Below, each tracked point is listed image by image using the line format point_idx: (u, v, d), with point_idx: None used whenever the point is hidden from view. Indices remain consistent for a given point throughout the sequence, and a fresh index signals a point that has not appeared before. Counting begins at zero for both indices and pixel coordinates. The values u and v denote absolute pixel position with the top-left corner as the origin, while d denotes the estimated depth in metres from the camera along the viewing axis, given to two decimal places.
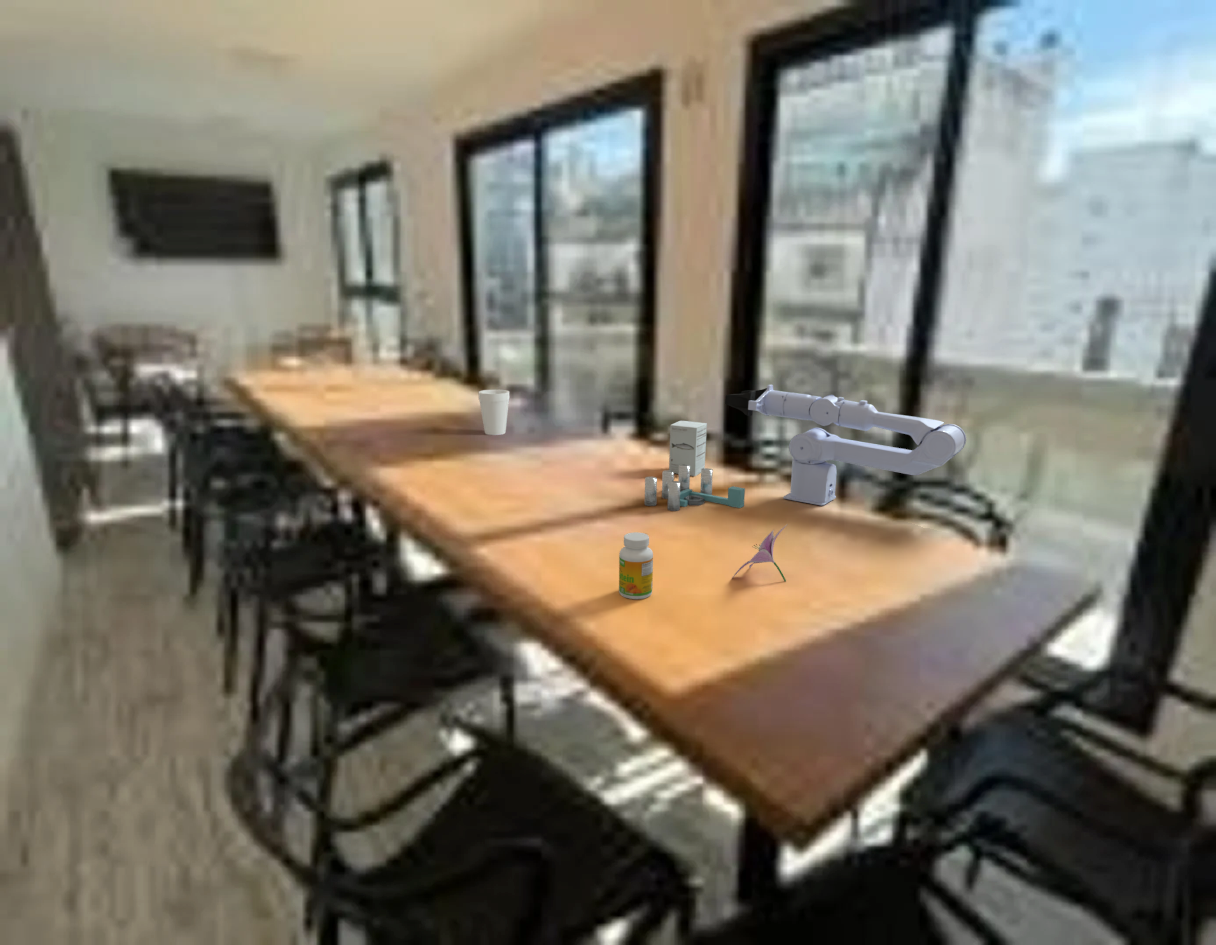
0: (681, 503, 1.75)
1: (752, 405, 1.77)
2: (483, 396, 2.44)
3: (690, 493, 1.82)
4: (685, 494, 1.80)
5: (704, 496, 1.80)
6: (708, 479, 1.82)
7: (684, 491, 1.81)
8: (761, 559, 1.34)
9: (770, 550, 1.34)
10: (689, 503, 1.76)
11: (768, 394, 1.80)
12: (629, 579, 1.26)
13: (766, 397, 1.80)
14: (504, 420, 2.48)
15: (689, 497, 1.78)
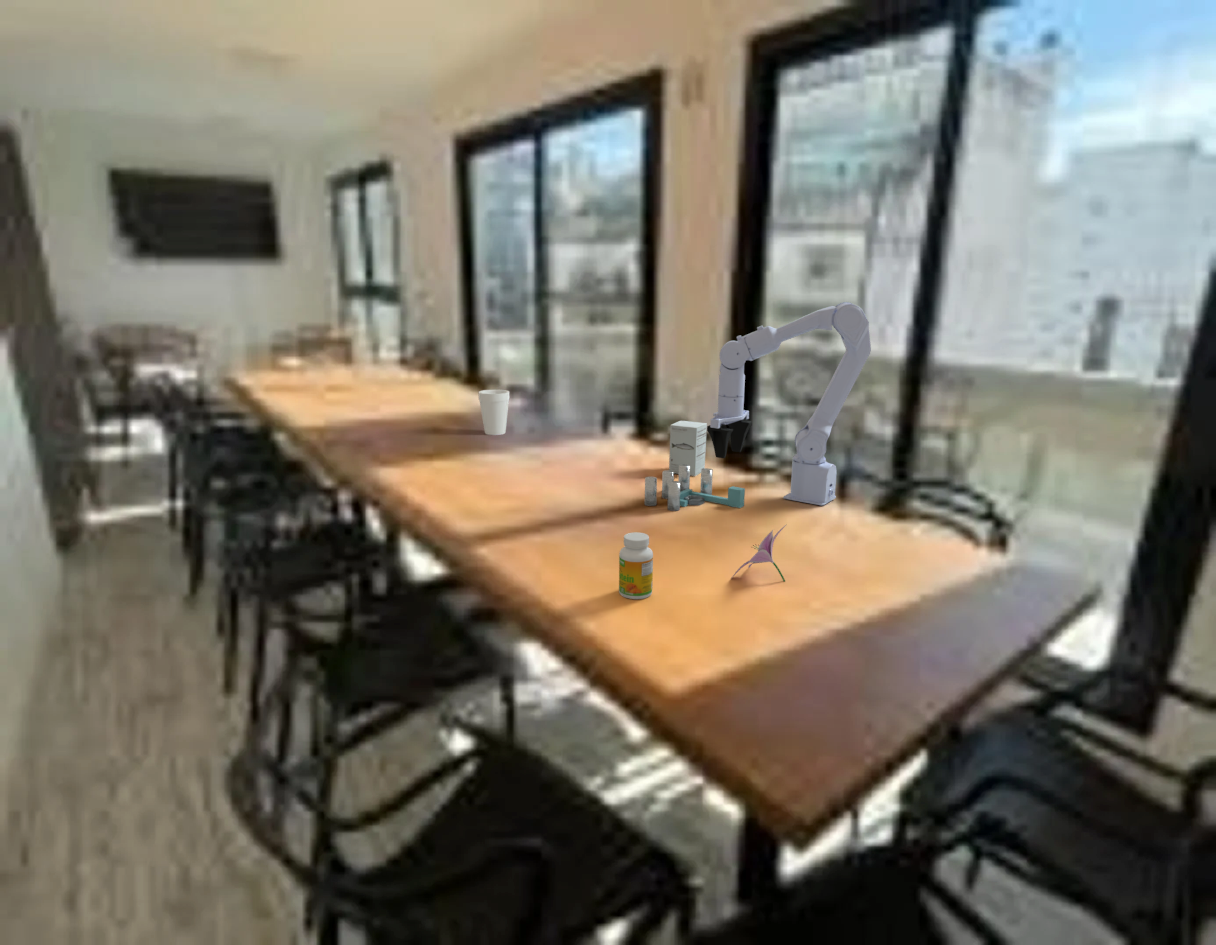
0: (681, 503, 1.75)
1: (714, 424, 1.75)
2: (483, 396, 2.44)
3: (690, 493, 1.82)
4: (685, 494, 1.80)
5: (704, 496, 1.80)
6: (708, 479, 1.82)
7: (684, 491, 1.81)
8: (760, 559, 1.34)
9: (769, 550, 1.34)
10: (689, 503, 1.76)
11: (718, 413, 1.80)
12: (629, 579, 1.26)
13: (719, 415, 1.79)
14: (504, 420, 2.48)
15: (689, 497, 1.78)
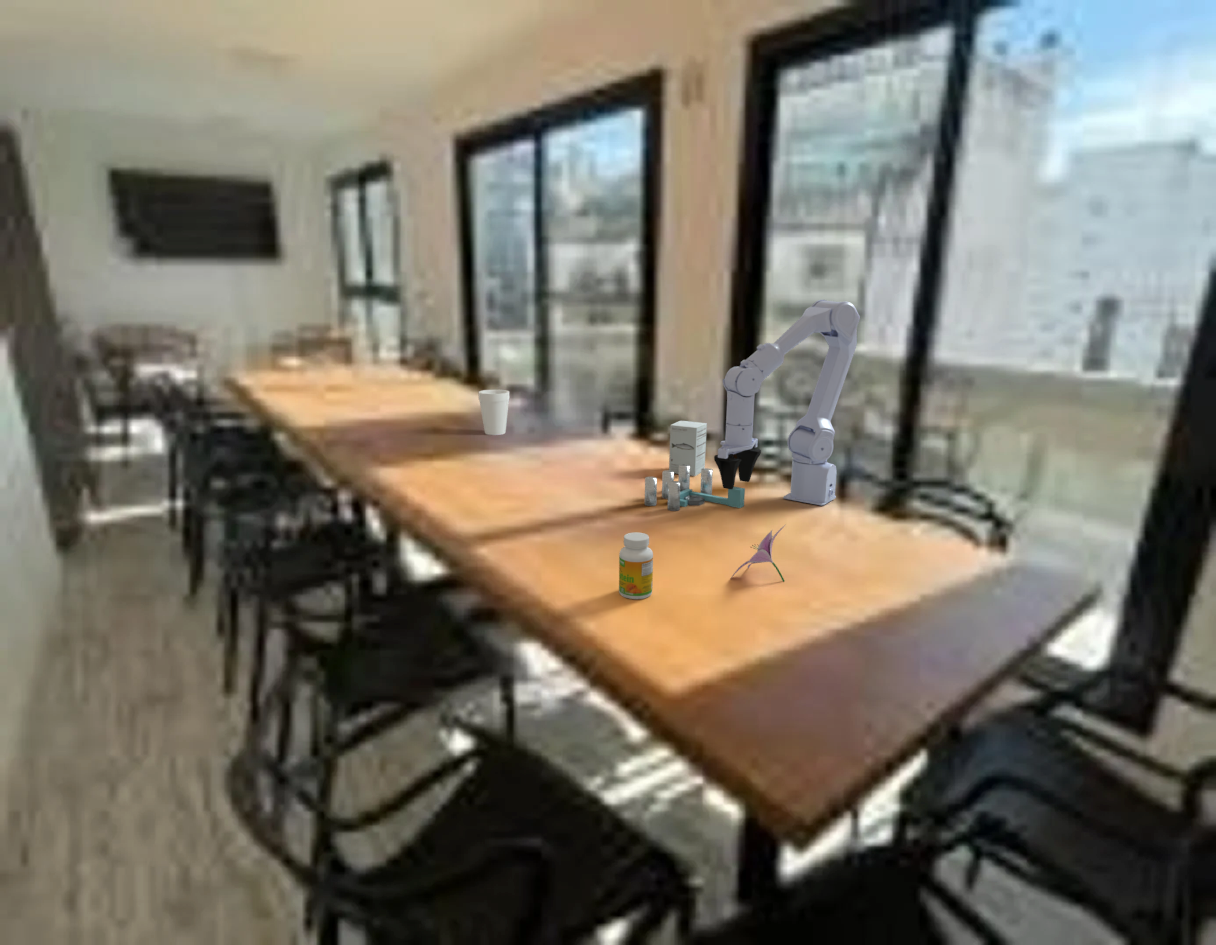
0: (681, 503, 1.75)
1: (721, 454, 1.67)
2: (483, 396, 2.44)
3: (690, 493, 1.82)
4: (685, 494, 1.80)
5: (704, 496, 1.80)
6: (708, 479, 1.82)
7: (684, 491, 1.81)
8: (760, 559, 1.34)
9: (769, 550, 1.34)
10: (689, 503, 1.76)
11: (725, 442, 1.72)
12: (629, 579, 1.26)
13: (727, 443, 1.71)
14: (504, 420, 2.48)
15: (689, 497, 1.78)
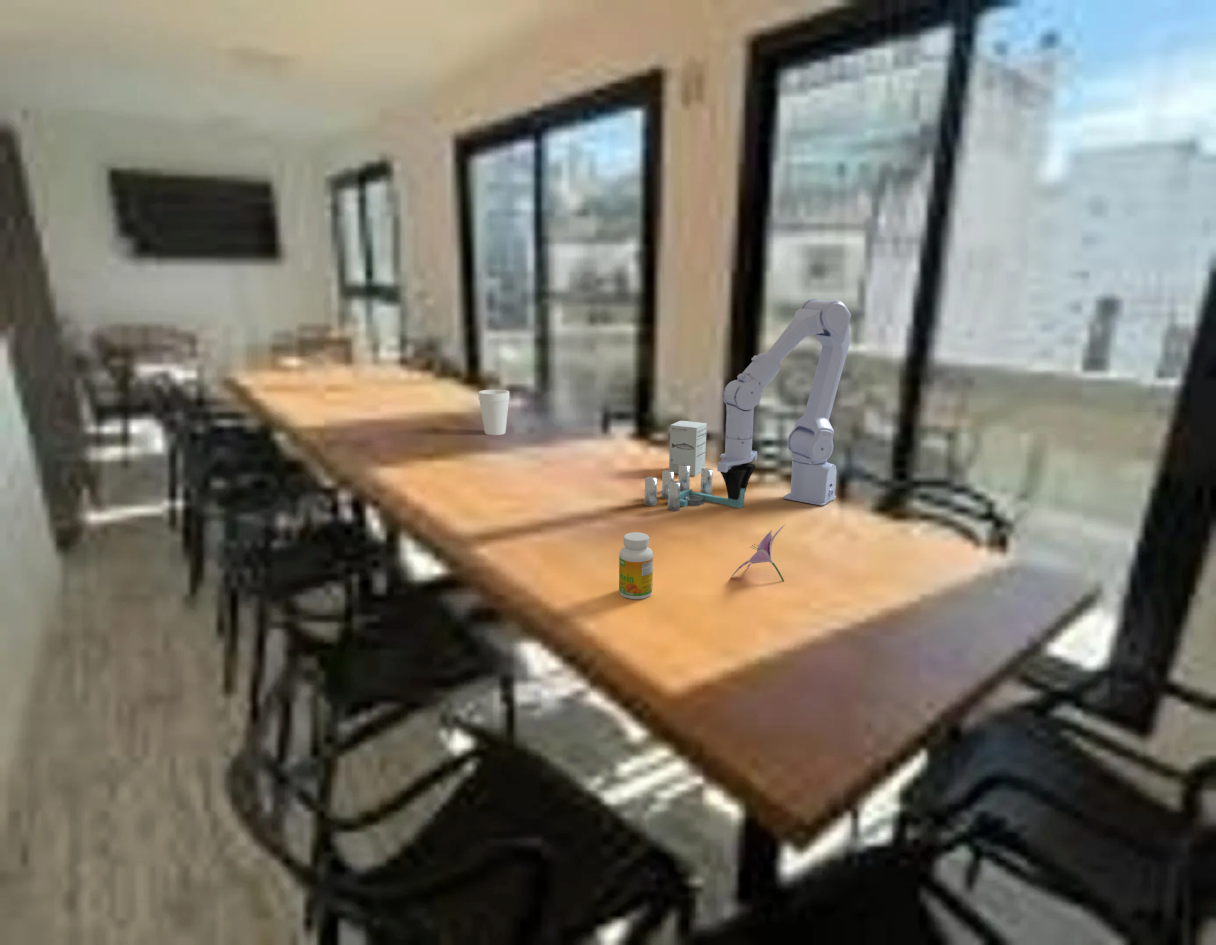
0: (681, 503, 1.75)
1: (721, 467, 1.68)
2: (483, 396, 2.44)
3: (690, 493, 1.82)
4: (685, 494, 1.80)
5: (704, 496, 1.80)
6: (708, 479, 1.82)
7: (684, 491, 1.81)
8: (759, 559, 1.34)
9: (768, 550, 1.34)
10: (689, 503, 1.76)
11: (725, 455, 1.73)
12: (629, 579, 1.26)
13: (726, 457, 1.72)
14: (504, 420, 2.48)
15: (689, 497, 1.78)
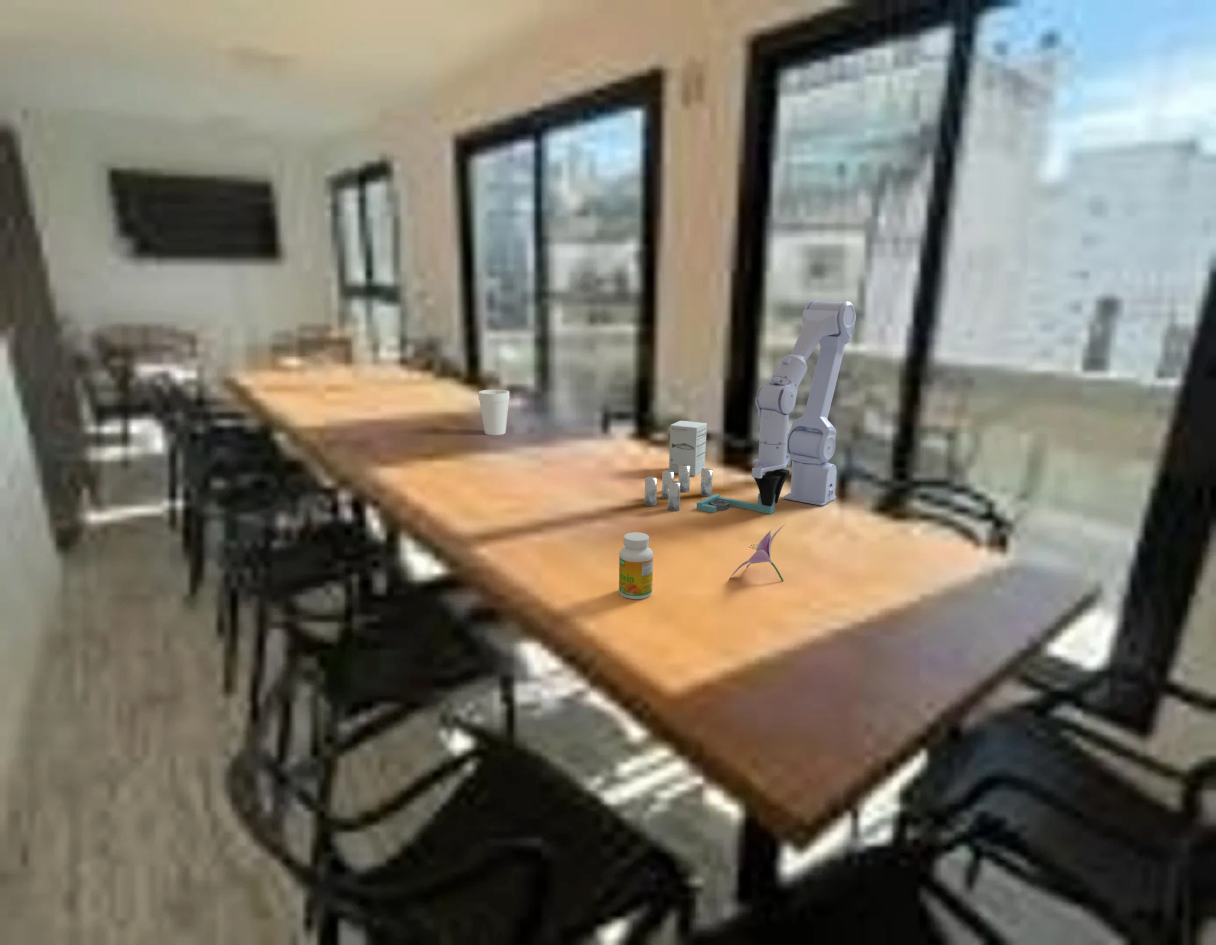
0: (710, 509, 1.71)
1: (756, 473, 1.63)
2: (483, 396, 2.44)
3: (718, 498, 1.78)
4: None
5: (733, 502, 1.75)
6: (708, 479, 1.82)
7: (712, 496, 1.77)
8: (758, 559, 1.34)
9: (767, 550, 1.34)
10: None
11: (758, 461, 1.68)
12: (629, 579, 1.26)
13: (760, 462, 1.67)
14: (504, 420, 2.48)
15: (714, 502, 1.75)
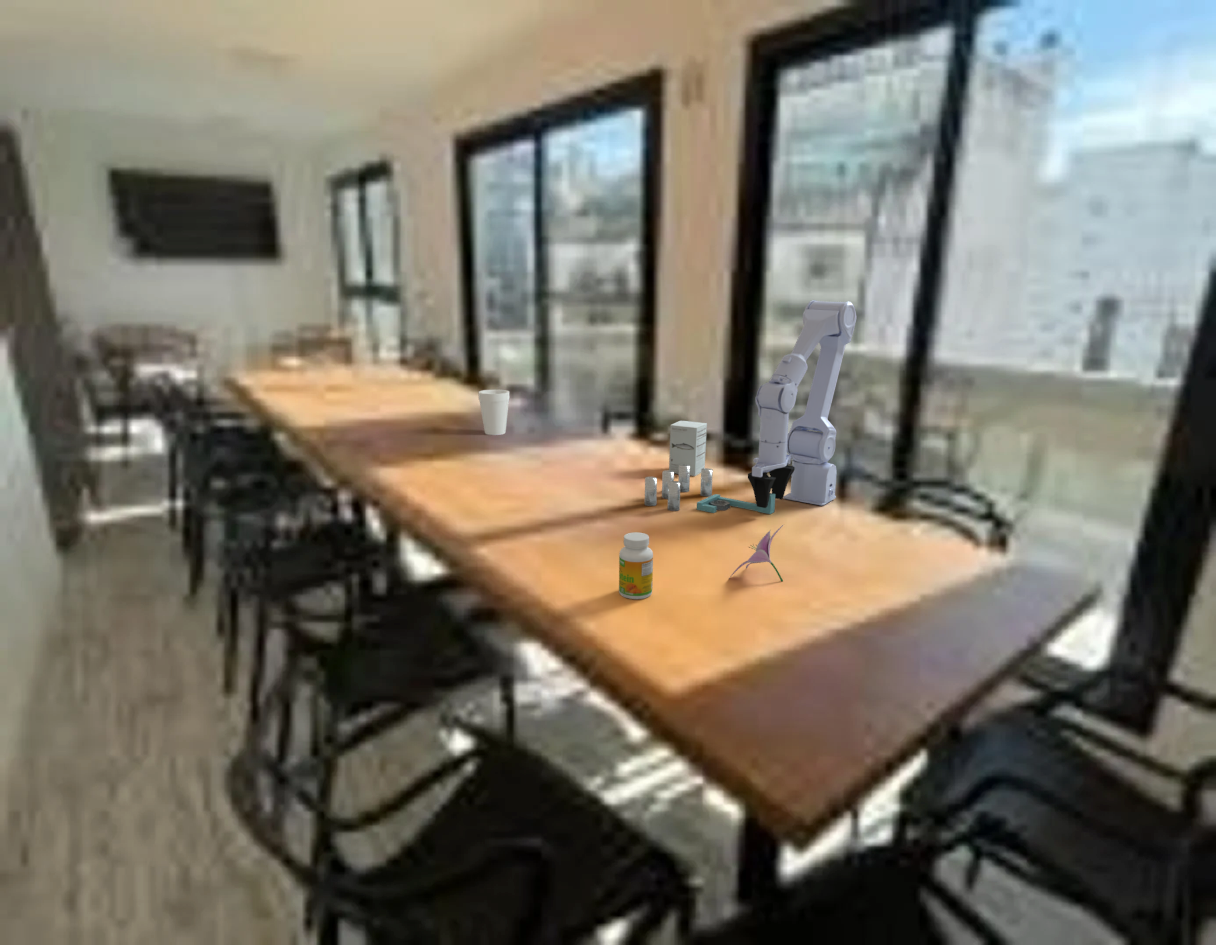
0: (710, 509, 1.71)
1: (756, 472, 1.63)
2: (483, 396, 2.44)
3: (718, 499, 1.78)
4: None
5: (733, 502, 1.75)
6: (708, 479, 1.82)
7: (712, 497, 1.77)
8: (758, 559, 1.34)
9: (767, 550, 1.34)
10: None
11: (759, 459, 1.68)
12: (629, 579, 1.26)
13: (760, 461, 1.67)
14: (504, 420, 2.48)
15: (714, 502, 1.75)
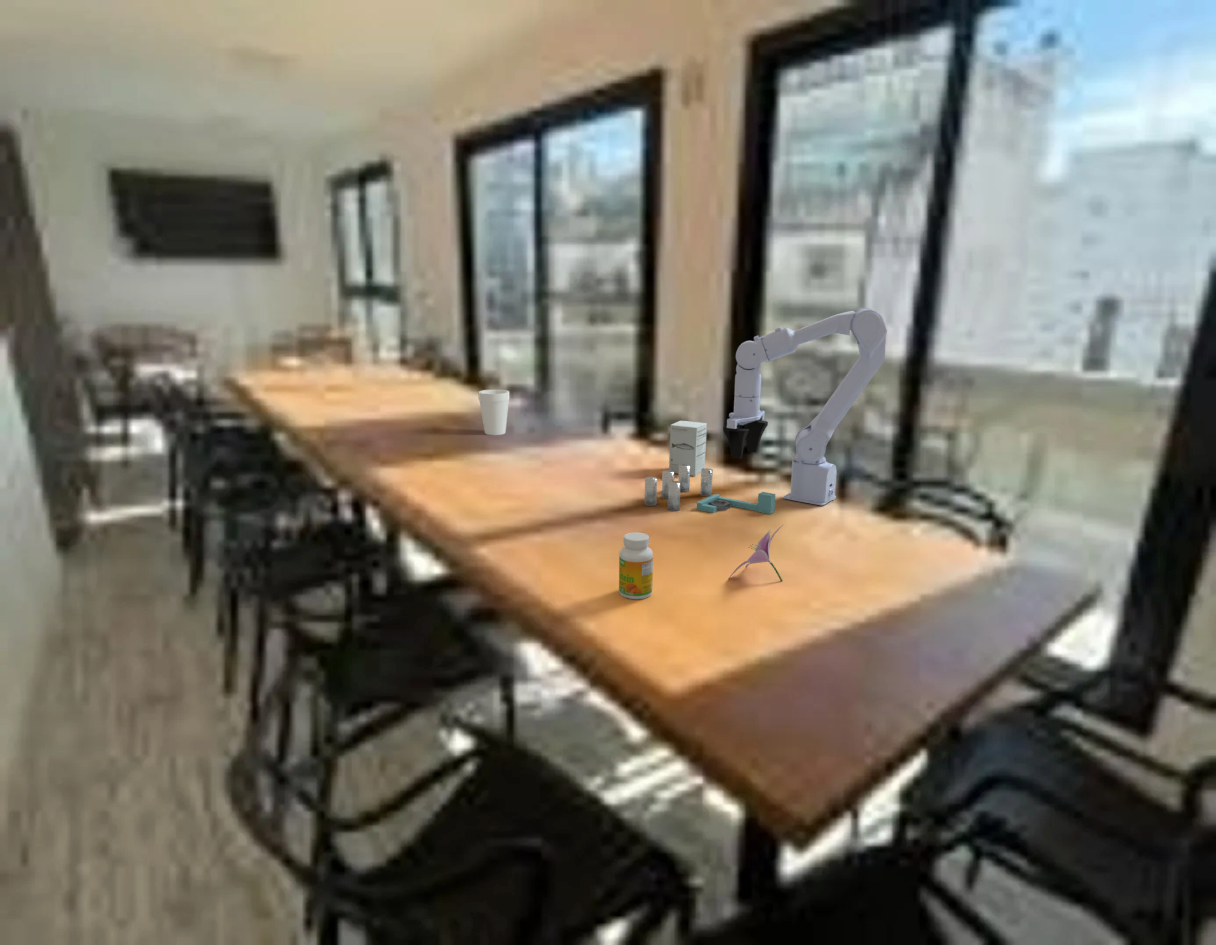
0: (710, 509, 1.71)
1: (730, 424, 1.75)
2: (483, 396, 2.44)
3: (718, 499, 1.78)
4: None
5: (733, 502, 1.75)
6: (708, 479, 1.82)
7: (712, 497, 1.77)
8: (758, 559, 1.34)
9: (766, 550, 1.34)
10: None
11: (734, 413, 1.80)
12: (629, 579, 1.26)
13: (735, 415, 1.79)
14: (504, 420, 2.48)
15: (714, 502, 1.75)
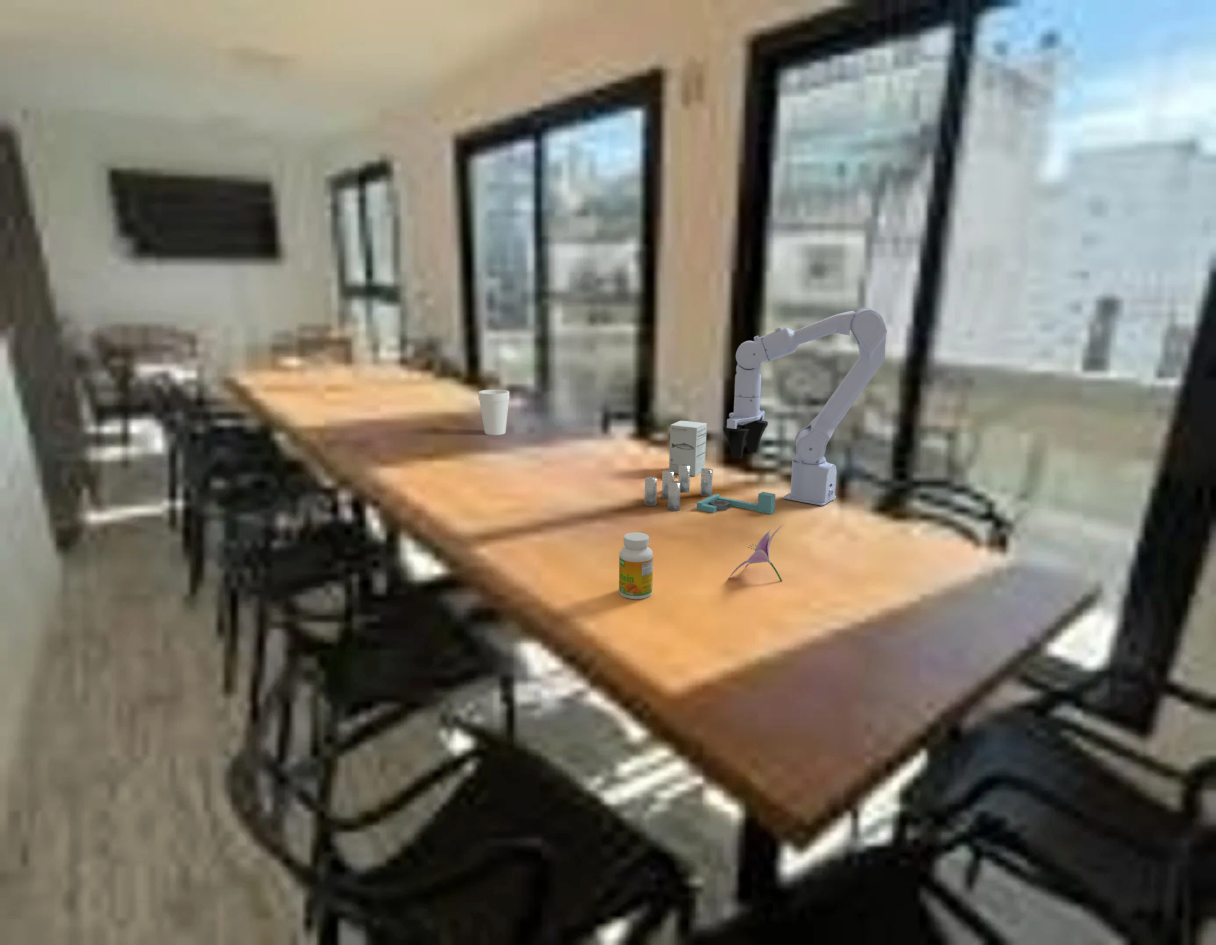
0: (710, 509, 1.71)
1: (730, 424, 1.75)
2: (483, 396, 2.44)
3: (718, 499, 1.78)
4: None
5: (733, 502, 1.75)
6: (708, 479, 1.82)
7: (712, 497, 1.77)
8: (757, 559, 1.34)
9: (766, 550, 1.34)
10: None
11: (734, 413, 1.80)
12: (629, 579, 1.26)
13: (735, 415, 1.79)
14: (504, 420, 2.48)
15: (714, 502, 1.75)
